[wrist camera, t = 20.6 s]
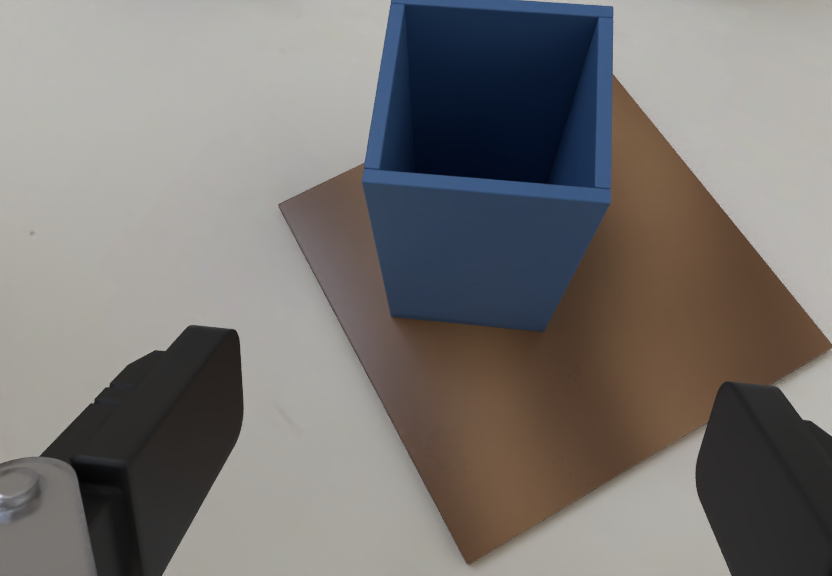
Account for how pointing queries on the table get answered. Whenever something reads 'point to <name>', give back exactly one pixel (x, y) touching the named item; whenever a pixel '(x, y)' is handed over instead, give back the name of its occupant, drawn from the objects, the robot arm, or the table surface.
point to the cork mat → (565, 343)
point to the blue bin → (488, 156)
